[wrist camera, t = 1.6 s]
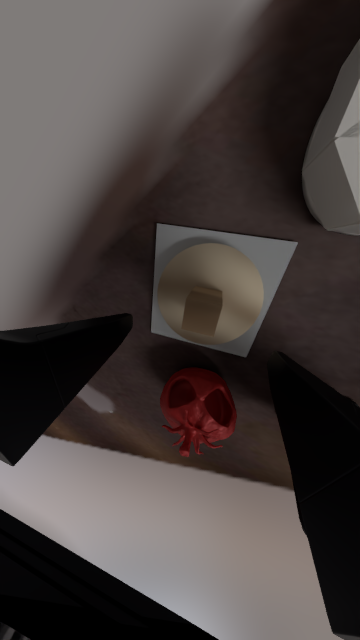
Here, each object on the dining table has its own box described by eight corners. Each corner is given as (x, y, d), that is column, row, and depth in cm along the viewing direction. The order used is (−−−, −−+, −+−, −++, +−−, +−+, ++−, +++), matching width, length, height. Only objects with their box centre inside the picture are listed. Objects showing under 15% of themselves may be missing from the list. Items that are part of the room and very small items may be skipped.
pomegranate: (220, 412, 25) (220, 491, 17) (165, 391, 26) (140, 456, 18) (244, 372, 20) (260, 457, 12) (175, 349, 21) (147, 413, 13)
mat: (245, 355, 19) (246, 357, 19) (152, 330, 21) (150, 332, 21) (295, 242, 13) (297, 242, 13) (158, 223, 15) (157, 223, 15)
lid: (240, 348, 18) (247, 385, 13) (158, 327, 20) (137, 353, 15) (280, 253, 13) (314, 254, 8) (165, 236, 15) (137, 229, 10)
